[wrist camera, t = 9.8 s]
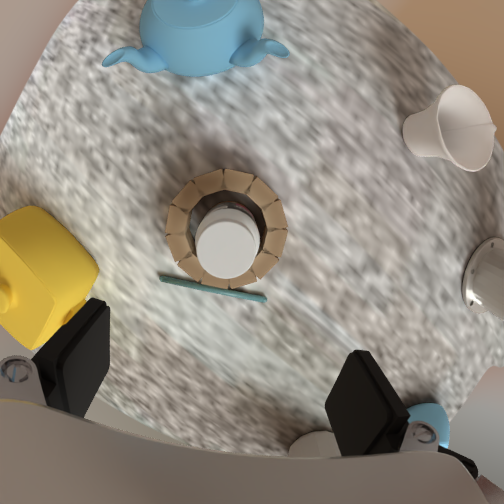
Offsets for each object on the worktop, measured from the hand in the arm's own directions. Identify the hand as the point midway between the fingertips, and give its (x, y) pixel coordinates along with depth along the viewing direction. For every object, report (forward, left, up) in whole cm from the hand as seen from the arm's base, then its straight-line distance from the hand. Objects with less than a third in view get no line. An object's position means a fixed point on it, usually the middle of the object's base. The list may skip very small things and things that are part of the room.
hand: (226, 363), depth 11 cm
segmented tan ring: (+1, 0, -23) cm, 23 cm away
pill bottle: (0, 0, -24) cm, 24 cm away
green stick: (+1, +7, -23) cm, 24 cm away
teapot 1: (+22, +10, -24) cm, 33 cm away
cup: (-19, -17, -24) cm, 35 cm away
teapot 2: (+7, -21, -24) cm, 33 cm away
